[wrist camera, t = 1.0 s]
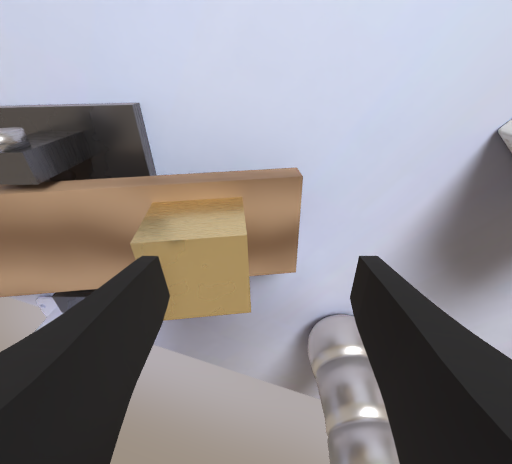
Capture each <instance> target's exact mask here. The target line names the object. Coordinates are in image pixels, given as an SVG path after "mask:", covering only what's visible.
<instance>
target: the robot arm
mask: <svg viewBox="0 0 512 464" xmlns="http://www.w3.org/2000/svg"><path fill="white" fill-rule="evenodd" d="M169 298H170V294H169V290H168V287H167V284H166V280H165V277H164V274H163V270H162V267H161V264H160V260H159V257H158V256H141V257H140V258H138V259H137V260H135V261H134V262H133V263H131V264H130V265H128V266H127V267H126V268H124V269H123V270H122V271H121V272H119V273H118V274H117V275H115V276H114V277H113V278H111V279H110V280H109V281H107V282H106V283H105V284H103V285H102V286H101V287H99V288H98V289H97V290H95V291H94V292H93V293H91V294H90V295H89V296H87V297H86V298H84V299H83V300H81V301H80V302H79V303H77V304H76V305H74V306H73V307H71V308H70V309H69V310H67V311H66V312H64V313H62V312H61V311H60V309H59V307H58V306H57V304H56V303H55V301H54V299H53V298H52V297H43V296H41V297H38V298H37V299H36V303H37V304H38V306H39V307H40V309H41V310H42V312H43V313H44V315H45V316H46V319H45V320H44V321H43V323H42V324H41V325H40V326H39V327H38V328H37V329H36V330H35V332H34V333H32V334H30V335H29V336H27V337H25V338H24V339H23V340H21V341H19V342H17V343H16V344H14V345H12V346H11V347H9V348H7V349H5V350H3V351H1V352H0V464H110V462H111V458H112V455H113V451H114V448H115V444H116V442H117V439H118V435H119V432H120V429H121V426H122V423H123V420H124V417H125V413H126V411H127V407H128V404H129V401H130V398H131V395H132V393H133V390H134V388H135V385H136V382H137V380H138V378H139V376H140V373H141V371H142V369H143V367H144V364H145V362H146V360H147V357H148V355H149V353H150V350H151V348H152V346H153V344H154V341H155V339H156V337H157V334H158V332H159V330H160V327H161V325H162V322H163V320H164V316H165V313H166V310H167V306H168V302H169ZM350 300H351V305H352V309H353V314H354V318H355V322H356V326H357V329H358V331H359V334H360V337H361V340H362V343H363V345H364V348H365V351H366V354H367V356H368V359H369V362H370V365H371V367H372V370H373V373H374V376H375V378H376V381H377V384H378V387H379V389H380V392H381V396H382V399H383V402H384V405H385V409H386V412H387V416H388V420H389V424H390V428H391V431H392V435H393V439H394V443H395V447H396V451H397V455H398V459H399V463H400V464H512V359H510V358H509V357H507V356H506V355H504V354H503V353H501V352H500V351H498V350H497V349H495V348H494V347H492V346H491V345H489V344H488V343H486V342H485V341H483V340H482V339H480V338H479V337H478V336H476V335H475V334H473V333H472V332H471V331H469V330H468V329H466V328H465V327H464V326H462V325H461V324H460V323H458V322H457V321H456V320H454V319H453V318H452V317H450V316H449V315H448V314H446V313H445V312H444V311H442V310H441V309H440V308H439V307H437V306H436V305H435V304H434V303H432V302H431V301H430V300H429V299H427V298H426V297H425V296H424V295H423V294H421V293H420V292H419V291H418V290H417V289H415V288H414V287H413V286H412V285H411V284H409V283H408V282H407V281H406V280H405V279H404V278H402V277H401V276H400V275H399V274H398V273H397V272H396V271H394V270H393V269H392V268H391V267H390V266H389V265H387V264H386V263H385V262H384V261H383V260H382V259H380V258H379V257H378V256H359V259H358V264H357V268H356V273H355V277H354V282H353V287H352V291H351V296H350Z"/></svg>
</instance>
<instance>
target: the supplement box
mask: <svg viewBox="0 0 512 464" xmlns="http://www.w3.org/2000/svg"><path fill="white" fill-rule="evenodd" d="M498 133H499V135H500V136H501V137H502V139H503V140H504V142H505V143H506V145H507V147H508V148H509V150H510V151H511V153H512V119H511V120H510V121H508V122H507V123H506V124H505V125H503V126H502V127H501V128H500V129H499V130H498Z"/></svg>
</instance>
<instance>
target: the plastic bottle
mask: <svg viewBox="0 0 512 464" xmlns="http://www.w3.org/2000/svg"><path fill="white" fill-rule="evenodd" d="M308 357H309V360H310V364H311V368H312V371H313V374H314V376H315V379H316V382H317V386H318V390H319V395H320V399H321V403H322V408H323V412H324V417H325V424H326V432H327V435H328V450H329V459H330V464H400V463H399V459H398V455H397V451H396V447H395V443H394V439H393V435H392V431H391V428H390V424H389V420H388V416H387V412H386V409H385V405H384V402H383V399H382V396H381V392H380V389H379V387H378V384H377V381H376V378H375V376H374V373H373V370H372V367H371V365H370V362H369V359H368V356H367V354H366V351H365V348H364V345H363V343H362V340H361V337H360V334H359V331H358V329H357V326H356V322H355V318H354V316H350V315H344V314H339V315H332V316H329V317H326V318H324V319H322V320H320V321H319V322H318V323H317V324H315V326H314V327H313V329H312V330H311V332H310V334H309V337H308Z"/></svg>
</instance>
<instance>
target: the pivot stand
mask: <svg viewBox="0 0 512 464" xmlns="http://www.w3.org/2000/svg"><path fill="white" fill-rule="evenodd" d="M141 176H156V171H155V167H154V163H153V159H152V155H151V151H150V146H149V142H148V138H147V134H146V130H145V126H144V121H143V117H142V113H141V109H140V105H139V103H107V104H63V105H19V106H0V185H38V184H40V183H42V182H53V181H71V180H89V179H106V178H124V177H141ZM95 290H97V289H90V290H78V291H66V292H56V293H55V294H54V295H53V296H52V298H53V299H54V301H55V303H56V304H57V306H58V307H59V309H60V311H61V312H62V313H64V312H66V311H67V310H69V309H70V308H71V307H73V306H74V305H76V304H77V303H79V302H80V301H81V300H83V299H84V298H86V297H87V296H89V295H90V294H91V293H93V292H94V291H95Z"/></svg>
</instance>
